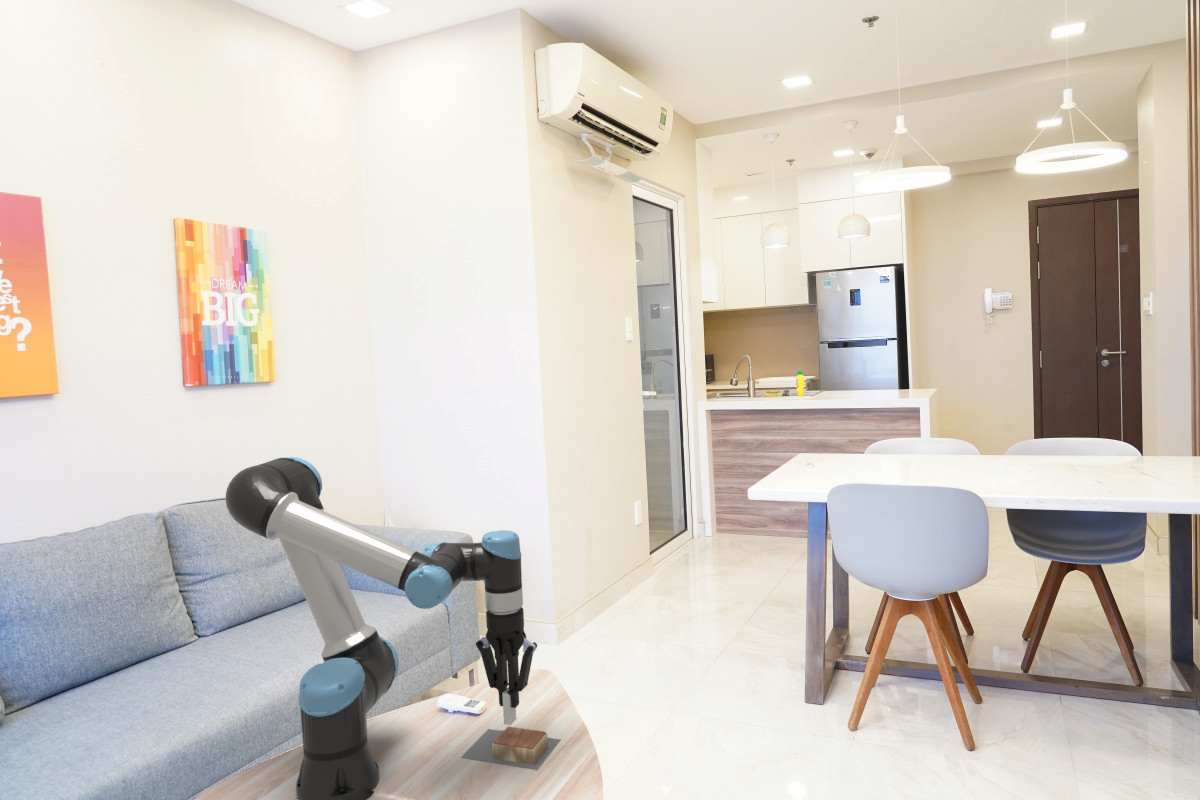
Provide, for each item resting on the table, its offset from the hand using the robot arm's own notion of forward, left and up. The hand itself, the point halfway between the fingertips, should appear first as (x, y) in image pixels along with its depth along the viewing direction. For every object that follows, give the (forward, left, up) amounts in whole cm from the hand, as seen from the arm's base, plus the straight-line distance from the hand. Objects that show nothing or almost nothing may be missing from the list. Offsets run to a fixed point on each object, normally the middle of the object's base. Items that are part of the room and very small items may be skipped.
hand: (510, 721), depth 158 cm
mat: (0, +1, -7) cm, 7 cm away
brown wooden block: (-2, 0, -5) cm, 5 cm away
